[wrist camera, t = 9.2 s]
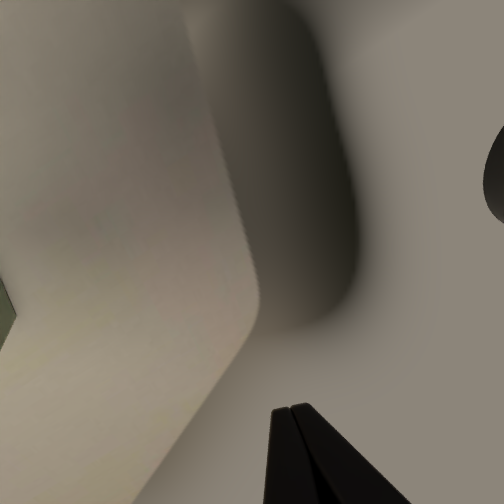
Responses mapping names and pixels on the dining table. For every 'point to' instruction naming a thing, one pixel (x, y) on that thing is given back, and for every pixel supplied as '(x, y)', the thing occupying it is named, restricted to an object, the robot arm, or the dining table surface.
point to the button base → (5, 315)
